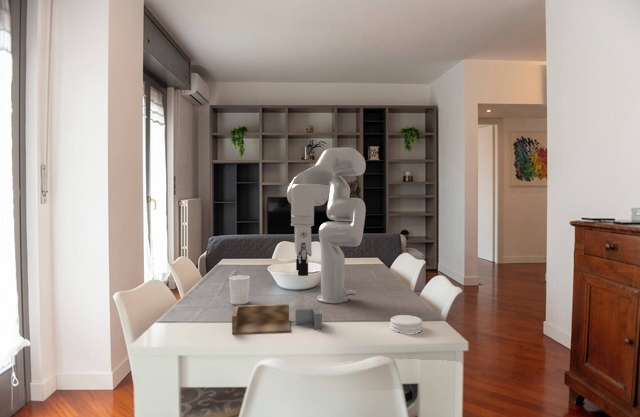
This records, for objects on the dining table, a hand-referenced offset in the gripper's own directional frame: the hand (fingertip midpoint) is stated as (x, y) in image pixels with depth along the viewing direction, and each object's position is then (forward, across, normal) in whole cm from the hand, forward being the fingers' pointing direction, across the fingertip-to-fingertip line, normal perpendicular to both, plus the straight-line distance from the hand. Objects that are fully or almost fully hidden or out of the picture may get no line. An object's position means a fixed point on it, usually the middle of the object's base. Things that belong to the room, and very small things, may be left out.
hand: (301, 272), depth 141 cm
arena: (+17, -2, +13) cm, 22 cm away
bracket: (+17, -2, -2) cm, 17 cm away
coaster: (+17, -9, -33) cm, 38 cm away
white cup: (+17, +29, +22) cm, 40 cm away
